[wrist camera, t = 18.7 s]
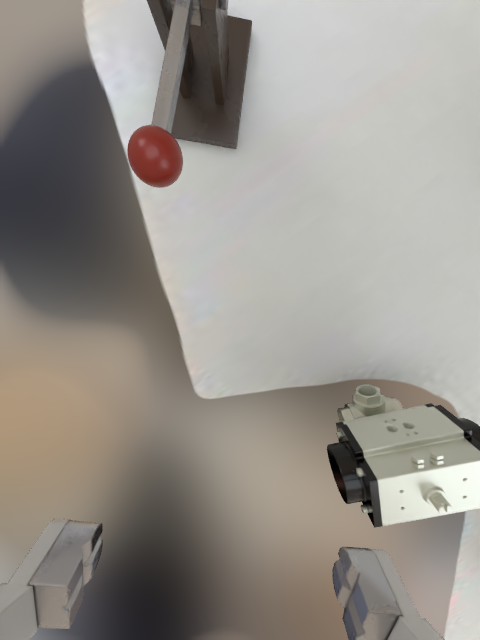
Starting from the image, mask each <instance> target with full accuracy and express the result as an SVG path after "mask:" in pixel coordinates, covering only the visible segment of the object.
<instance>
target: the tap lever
mask: <svg viewBox="0 0 480 640" xmlns="http://www.w3.org/2000/svg"><path fill="white" fill-rule="evenodd" d="M171 7H172V13H173V15H172V21H171V26H170V31H169V36H168V41H167V46H166V52H165V57H164V62H163V67H162V72H161V78H160V83H159V88H158V93H157V98H156V104H155V109H154V114H153V119H152V124H151V125H146V126H143V127H140V128H139V129H137V130H136V131H135V132H134V133H133V134H132V136H131V138H130V140H129V143H128V159H129V162H130V165H131V167H132V169H133V171H134V173H135V174H136V175H137V176H138V177H139V179H141V180H142V181H143V182H144V183H146V184H148V185H150V186H153V187H158V188H160V187H167V186H169V185H171V184H173V183H174V182H175V181H176V180H177V179H178V177H179V176H180V174H181V171H182V167H183V157H182V152H181V149H180V147H179V144H178V142H177V141H176V139H175V138H174V137H173V136H172V135H171V131H172V126H173V120H174V115H175V110H176V104H177V99H178V93H179V88H180V82H181V77H182V71H183V66H184V60H185V55H186V49H187V44H188V38H189V33H190V27H191V24H192V25H197V26H201V24H202V18H203V12H202V0H171Z"/></svg>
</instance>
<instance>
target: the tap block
mask: <svg viewBox="0 0 480 640" xmlns="http://www.w3.org/2000/svg"><path fill="white" fill-rule="evenodd" d="M147 2H148V5H149V7H150V10H151V13H152V16H153V18H154V21H155V24H156V27H157V29H158V32H159V35H160V38H161V40H162V43H163V46H164V49H165V51H166V46H167V41H168V36H169V31H170V26H171V21H172V15H173V13H172V7H171V0H147ZM227 7H228V0H202V12H203V18H202V24H201V26H197V25H192V24H191V27H190V33H189V38H188V44H187V49H186V55H185V60H184V66H183V71H182V77H181V82H180V88H179V93H178V99H177V104H176V110H175V115H174V120H173V126H172V131H171V135H172V136H173V137H174V138H178V139H184V140H189V141H195V142H200V143H206V144H211V145H217V146H223V147H228V148H234V149H236V146H237V138H238V130H239V122H240V115H241V107H242V99H243V91H244V84H245V76H246V68H247V60H248V53H249V45H250V37H251V27H252V21H251V20H246V19H241V18H237V17H232V16H227Z"/></svg>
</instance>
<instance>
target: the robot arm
mask: <svg viewBox="0 0 480 640" xmlns="http://www.w3.org/2000/svg"><path fill="white" fill-rule="evenodd" d="M101 533H102V523H92V522H82V521H81V522H80V521H72V520H65V519H53V520H52V521H51V522H50V523H49V524H48V525H47V526H46V528H45V529H44V531H43V532H42V533H41V535H40V536H39V538H38V539H37V541H36V542H35V544H34V545H33V547H32V548H31V550H30V551H29V553H28V554H27V555H26V557H25V558H24V560H23V561H22V563H21V564H20V566H19V567H18V568H17V570H16V572H15V573H14V574H13V576H12V577H11V579H10V580H9V582H8V583H2V584H0V640H29V639H30V638H31V637H32V636H33V635H34V634H35V633H36V632H37V630H38V628H56V629H70V627H71V624H72V622H73V620H74V617H75V615H76V613H77V611H78V609H79V606H80V604H81V602H82V599H83V586H84V585H85V584H86V583H87V582H88V581H89V580H90V579H91V578H92V577H93V574H94V572H95V570H96V567H97V565H98V562H99V558H100V555H101V551H102V542H103V541H102V539H101V538H100V535H101ZM338 554H339V557H340V559H339V560H337V561H336V562H335V563H334V567H333V584H334V589H335V592H336V596H337V599H338V601H339V602H340V603H341V605H342V606H343V608H344V615H343V621H344V624H345V628H346V632H347V635H348V639H349V640H445V639H444V638H443V637H442V636H441V635H440V634H439V633H438V632H437V631H436V630H435V629H434V627H432V625H431V624H430V623H429V622H428V621H427V620H426V619H424V618H420V616H419V614H418V612H417V610H416V608H415V606H414V604H413V602H412V600H411V598H410V596H409V594H408V592H407V590H406V588H405V586H404V584H403V582H402V580H401V578H400V576H399V574H398V572H397V570H396V568H395V566H394V564H393V562H392V560H391V558H390V556H389V554H388V553H387V552H386V551H383V550H375V549H366V548H353V547H342V548H340V550H339V553H338Z"/></svg>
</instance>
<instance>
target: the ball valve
mask: <svg viewBox="0 0 480 640" xmlns="http://www.w3.org/2000/svg"><path fill="white" fill-rule="evenodd" d="M355 391H356V392H355V394H354V395H353V403H349V404H346V405H345V407H344V408H339V409H338V417H339V420H340V422H339V423H336V426H337V437H338V439H339V443H334V444H330V445H328V446H327V451H328V457H329V461H330V465H331V469H332V472H333V475H334V478H335V481H336V484H337V487H338V489H339V491H340V494H341V496H342V498H343V500H344V501H345V502H346V503H347V504H350V503H355V502H361V501H362V503H363V505H361V509H362V512H363V513H364V514H366V513H368V515H369V517H370V519H371V522H372V524H373V525H374V527H380V526H386V525H391V524H397V523H402V522H408V521H413V520H418V519H425V518H430V517H436V516H441V515H447V514H452V513H458V512H463V511H469V510H474V509H480V426H479V425H477V424H476V423H474V422H473V421H471V420H468V419H465V418H459V419H458V418H456V417H455V416H454V415H453V414H451V413H450V412H449V411H447V410H446V409H445V408H444V407H442V406H441V405H438V406H434V405H433V404H426V405H422V406H416V407H412V408H407V409H403V406H402V405H401V403H400V402H399V400H398V399H396V398H387V397H386V396H383V395H382V394H381V393H380V388H378V387H376V386H373V385H370V384H364V385H360V386H357V387H356V390H355Z"/></svg>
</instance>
